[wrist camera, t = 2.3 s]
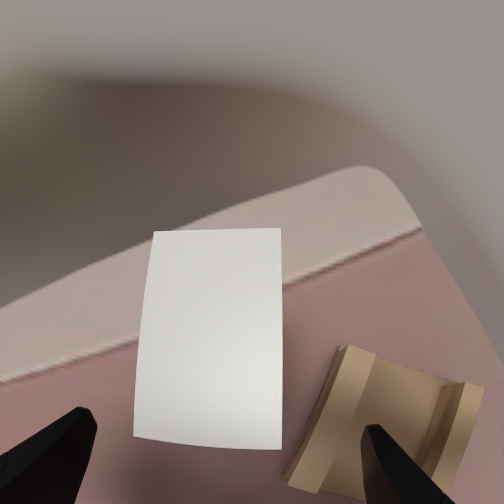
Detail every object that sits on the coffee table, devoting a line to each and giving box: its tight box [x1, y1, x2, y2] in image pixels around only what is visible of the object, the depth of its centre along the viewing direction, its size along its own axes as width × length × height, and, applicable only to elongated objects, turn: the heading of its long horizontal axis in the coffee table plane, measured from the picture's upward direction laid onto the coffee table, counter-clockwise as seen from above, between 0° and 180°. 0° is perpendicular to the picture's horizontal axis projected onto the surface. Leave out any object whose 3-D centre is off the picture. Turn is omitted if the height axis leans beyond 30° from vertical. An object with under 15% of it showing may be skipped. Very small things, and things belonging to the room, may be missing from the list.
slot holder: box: [282, 344, 484, 501], centre depth 14 cm, size 9×9×4 cm
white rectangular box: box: [133, 228, 282, 450], centre depth 13 cm, size 6×4×12 cm, turn 179°
